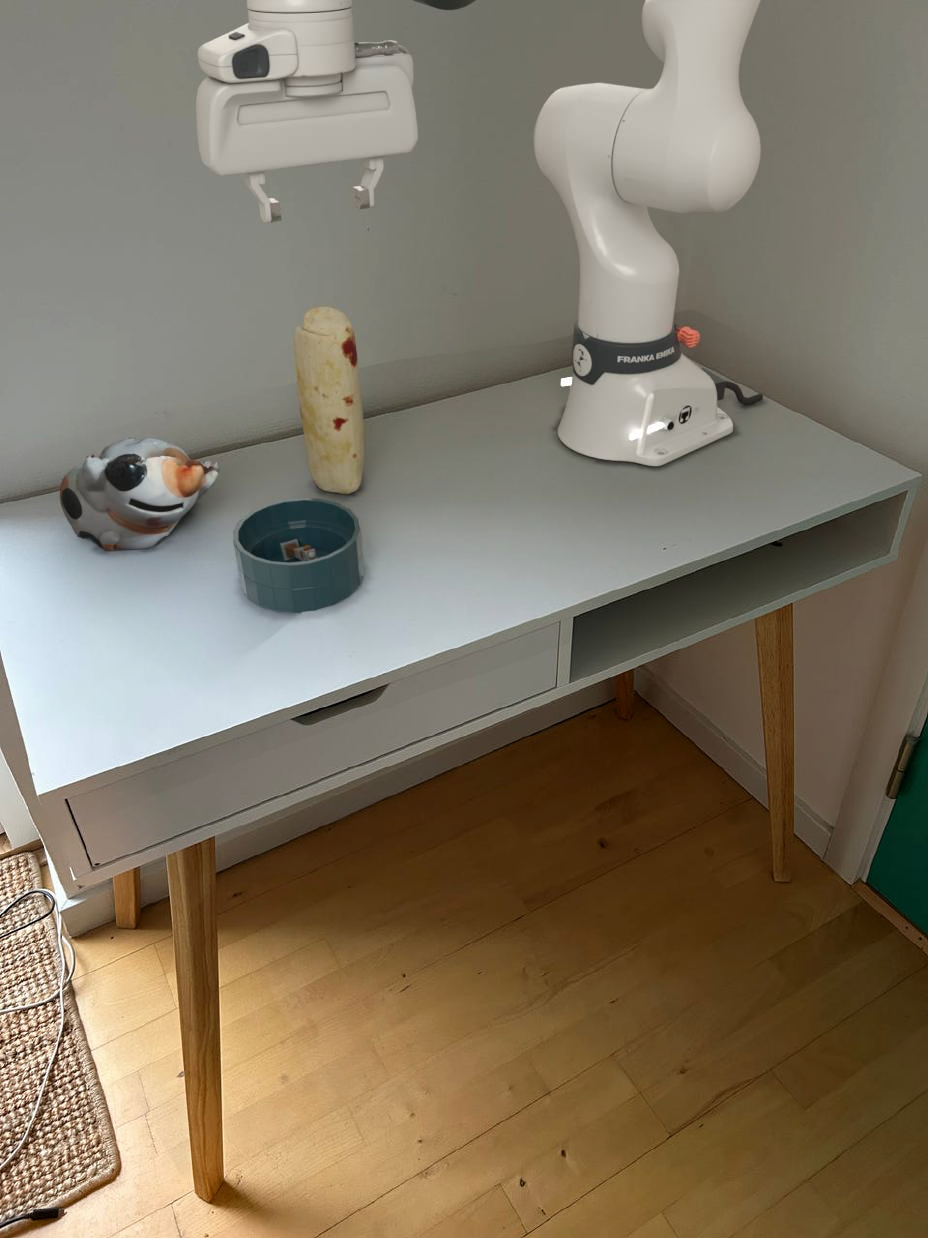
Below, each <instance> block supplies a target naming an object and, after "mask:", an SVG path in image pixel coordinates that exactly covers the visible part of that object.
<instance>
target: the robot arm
mask: <svg viewBox="0 0 928 1238" xmlns="http://www.w3.org/2000/svg"><path fill="white" fill-rule="evenodd" d="M352 1H353V0H246V10H247V17H248V18H247V19H248V22H247V23H245V24H243V25H241V26H239V27H237V28H235V29H233V30H231V31H229V32H227V33H225V34H222V35H221V36H218V37H216V38H214V39H212V40H210V41H207V42H205V43H204V44H202V45H200V46H199V48H198V50H197V60H198V64H199V68H200V69H201V71H202V72H204V73H205V74H206V75H207V77H205V78H204V79H203V80H202V81H201V82H200V84H199V86H198V88H197V93H196V98H195V99H196V101H195V115H196V117H195V118H196V135H197V144H198V151H199V156H200V159H201V162H202V163H203V165H204V166H205V167H206V168H207V169H208V170H209V171H211V172H212V173H214V174H215V175H217V176H219V177H229V176H239V175H242V177H243V182H244V183H245V185H246V187H247V188H248V189H249V191H250V192H251V194H252V195H253V197H254V198H255V199H256V200H257V201H258V208H259V216H260V219H261V221H262V222H263V223H265V224H271V223H276V222H277V223H278V222H281V221H282V214H281V212H280V211H281V202H280V201H279V200H277V199H275V198H274V197H268V196H267V194H266V193H265V191H264V190H263V188H262V187H261V185H265V184H266V175H265V174H266V173H265V172H269V171H270V172H271V171H277V170H285V169H286V170H287V169H293V168H294V169H295V168H301V167H309V166H318V165H327V164H334V163H342V162H350V161H357V160H361V165H362V166H363V167H365V170H364V174H363V176H362V179H361V181H360V184H359V185H357V186H352V195H353V200H352V201H353V205H354V208H357V210H366V209H373V208H375V189H376V187H377V185H378V184H379V180H380V178H381V176H382V174H383V171H384V170H385V167H384V166H385V165H384V157H389V156H397V155H398V156H399V155H404V154H410V153H412V152H413V151H414V149H415V147H416V145H417V143H418V141H419V129H418V120H417V118H418V117H417V112H416V105H415V104H416V103H415V98H414V94H413V85H414V79H415V77H414V60H413V57H412V55H411V53H410V52H409V50H408V48H406V47H404V46H402V45H401V44H399V42H398V41H397V40H390V39H389V40H383V41H380V42H374V41H373V42H372V41H365V42H363V41H362V42H355V30H354V16H353V7H352V6H353V2H352ZM412 1H414V2H416V3H420V4H422V5H425V6H428V7H431V8H435V9H438V10H442V11H455V10H456V11H457V10H460V9H463V8H465V7H468V6H469V5H471V4H473V3H474V2H477V0H412ZM761 1H762V0H644V3H643V5H642V11H641V28H642V35H643V37H644V39H645V42H646V44H647V46H648V48H649V49H650V50H651V52H652V53H653V54H654V55H655V56H656V57H657V59H658V60H659V61H661V63H662V64H663V68H662V72H661V76H660V77H659V80H658V82H657V83H656V85H655V86H654V87H653V88H644V87H643V88H642V87H635V86H628V85H622V84H621V85H620V84H613V83H606V82H592V83H581V84H576V85H569V86H564V87H560V88H558V89H556V90H554V92H553V93H552V94H551V95H550V96H549V97H548V98H547V99H546V101H545V102H544V103H543V105H542V107H541V109H540V111H539V113H538V115H537V118H536V121H535V125H534V130H533V151H534V157H535V160H536V163H537V165H538V167H539V170H540V172H541V173H542V175H544V177H546V178H547V180H548V181H549V182H550V183H551V185H552V186H553V187H554V189H555V190H556V192H557V194H558V195H559V197H560V200H561V201H562V203H563V205H564V207H565V210H566V212H567V214H568V218H569V220H570V222H571V226H572V229H573V232H574V236H575V241H576V244H577V246H576V247H577V251H578V259H579V261H578V262H579V290H578V291H579V292H578V294H579V297H578V316H577V320H576V321H575V322H574V326H573V335H572V336H573V337H572V346H571V364H572V376H570V377H564V378H561V379H560V386H561V387H566V386H569V391H568V396H567V400H566V404H565V407H564V410H563V414H562V417H561V420H560V422H559V425H558V428H557V436H558V438H559V440H560V441H561V442H562V444H564V445H565V446H566V447H567V448H569V449H570V450H572V451H574V452H576V453H578V454H581V455H582V456H583V455H584V456H587V457H590V458H594V459H598V460H604V461H612V462H613V461H614V462H629V463H636V464H640V465H644V466H649V467H661V466H664V465H666V464H668V463H670V462H672V461H675V460H677V459H679V458H681V457H683V456H686V455H688V454H689V453H692V452H694V451H696V450H698V449H701V448H703V447H704V446H707V445H710V444H711V443H714V442H716V441H717V440H720V439H722V438H725V437H727V436H728V435H731V434H732V433H733V432H734V423H733V420H732V419H731V417H730V416H729V415H728V414H727V413H726V412H725V411H724V410H723V409H721V408H720V407H719V406H718V401H722V400H724V399H725V398H724V397H725V393H726V392H725V391H726V389H728V390H730V391H732V392H733V393H734V394H735V397H736V399H737V401H738V402H739V403H740V404H742V405H745V406H746V405H752V404H755V403H757V402H760V401H762V400H763V399H764V395H763V394H762V393H757V394H754V395H751V396H749V397H745V396H744V394H743V391H742V389H741V387H740V386H739V385H738V384H737V383H735V382H731V381H730V380H725V379H723V378H721V377H720V376H718V375H717V374H715V373H713V372H711V371H710V370H709V369H707V368H705V367H703V368H701V367H699V366H698V365H697V364H696V363H694V362H693V361H692V360H690V358H689V357H687V356H686V355H684V354H683V353H682V350H681V346H680V343H681V344H684V345H685V346H686V347H688V348H690V349H691V348H694V347H696V346H697V345H698V343H699V342H700V340H701V334H700V333H699V331H698V330H695V329H691V327H689V326H683V327H682V328H680V327H679V325H678V324H677V323H675V322H674V317H675V309H676V301H677V292H678V285H679V277H680V263H679V259H678V257H677V254H676V252H675V250H674V249H673V247H672V246H671V245H670V244H669V243H668V242H667V241H666V239H665V238H663V237H662V235H660V233H659V232H658V231H657V229H656V227H655V226H654V224H653V221H652V220H651V217H650V214H649V211H648V208H653V209H657V210H662V211H667V212H673V213H677V214H684V215H686V214H716V213H725V212H727V211H729V210H730V209H732V208H733V207H734V206H735V205H736V204H737V203H738V202H739V201H741V199H743V197H744V196H745V195H746V193H747V192H748V191H749V189H750V187H751V186H752V184H753V182H754V180H755V178H756V175H757V173H758V169H759V166H760V161H761V152H762V149H761V148H762V147H761V137H760V133H759V130H758V129H759V128H758V126H757V124H756V122H755V119H754V117H753V116H752V115H751V113H750V112H749V110H748V108H747V106H746V105H745V102H744V100H743V98H742V93H741V88H740V77H739V76H740V65H741V59H742V55H743V51H744V47H745V44H746V41H747V38H748V35H749V32H750V30H751V27H752V24H753V21H754V18H755V15H756V14H757V11H758V9H759V6H760V4H761ZM399 51H400V53H399ZM401 52H402V53H401Z"/></svg>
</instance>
